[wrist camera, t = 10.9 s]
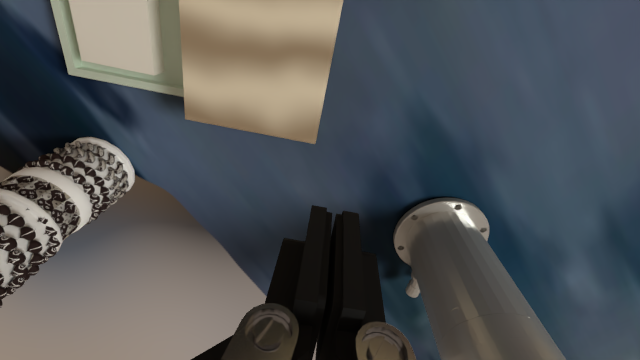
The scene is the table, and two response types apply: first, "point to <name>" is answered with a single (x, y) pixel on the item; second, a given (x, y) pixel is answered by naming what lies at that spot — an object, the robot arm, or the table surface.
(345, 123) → the table surface
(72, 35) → the sage tray
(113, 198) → the decorative candle
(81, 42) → the cream tile
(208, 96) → the board
